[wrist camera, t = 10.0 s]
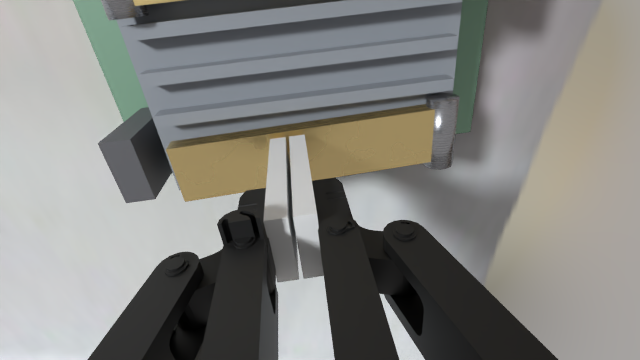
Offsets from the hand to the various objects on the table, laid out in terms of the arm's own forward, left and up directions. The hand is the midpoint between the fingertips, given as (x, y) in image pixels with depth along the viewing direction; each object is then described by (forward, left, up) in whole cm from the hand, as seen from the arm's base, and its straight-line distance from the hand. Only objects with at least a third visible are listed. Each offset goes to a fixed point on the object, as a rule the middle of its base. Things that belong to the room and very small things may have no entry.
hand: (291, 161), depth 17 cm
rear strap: (+1, 0, -2) cm, 2 cm away
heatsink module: (+1, +4, -8) cm, 10 cm away
